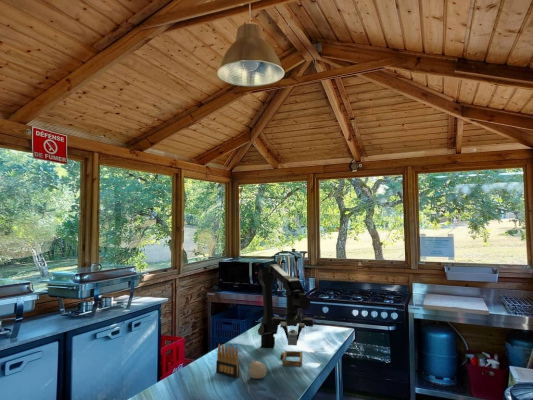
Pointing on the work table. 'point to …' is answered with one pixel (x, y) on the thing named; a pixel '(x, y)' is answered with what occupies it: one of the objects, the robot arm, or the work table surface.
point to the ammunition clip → (227, 362)
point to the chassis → (291, 353)
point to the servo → (292, 337)
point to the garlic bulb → (257, 369)
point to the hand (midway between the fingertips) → (292, 340)
